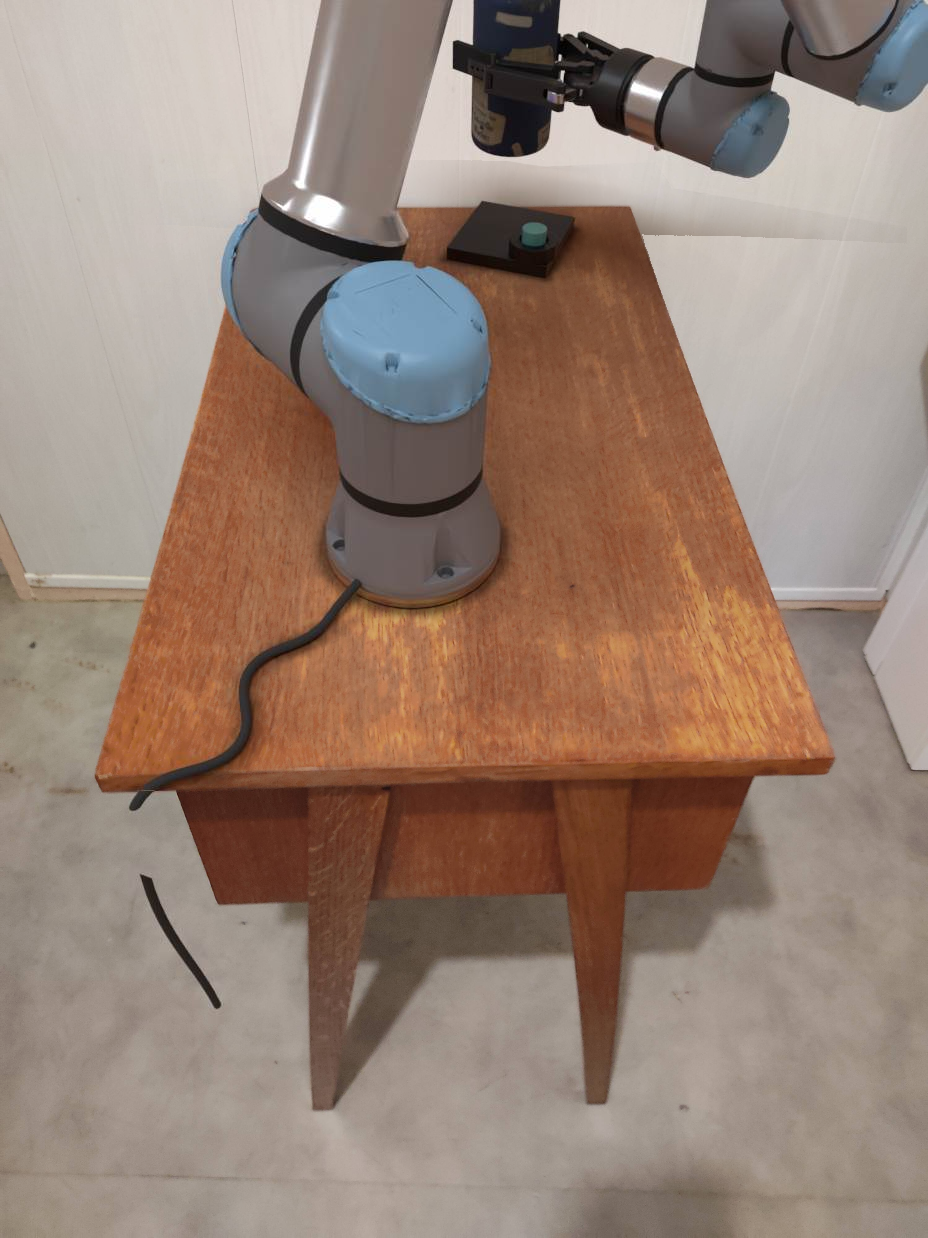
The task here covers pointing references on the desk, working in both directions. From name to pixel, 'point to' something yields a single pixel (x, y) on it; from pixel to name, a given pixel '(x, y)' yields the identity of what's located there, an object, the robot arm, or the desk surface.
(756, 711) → the desk surface
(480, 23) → the canister
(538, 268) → the black flat square block
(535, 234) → the button
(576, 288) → the desk surface
